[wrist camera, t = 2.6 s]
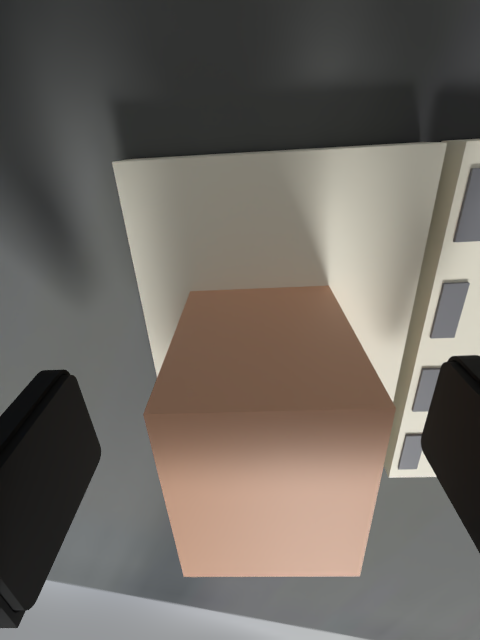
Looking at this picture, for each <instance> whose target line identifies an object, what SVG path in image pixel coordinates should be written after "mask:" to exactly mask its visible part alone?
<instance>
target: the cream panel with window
mask: <svg viewBox="0 0 480 640" xmlns="http://www.w3.org/2000/svg"><path fill="white" fill-rule="evenodd" d="M441 142H447V146H446V151H445V156H444V161H443V165H442V170H441V175H440V180H439V185H438V189H437V194H436V199H435V204H434V209H433V213H432V218H431V223H430V228H429V233H428V237H427V242H426V247H425V252H424V257H423V261H422V266H421V271H420V276H419V281H418V285H417V290H416V295H415V300H414V305H413V309H412V314H411V319H410V324H409V329H408V333H407V338H406V343H405V348H404V353H403V357H402V362H401V367H400V372H399V377H398V381H397V386H396V391H395V396H394V401H393V404H394V405H395V407H396V411H395V415H394V420H393V425H392V429H391V434H390V439H389V443H388V448H387V452H386V457H385V462H384V467H385V470H386V472H387V475H388V477H389V478H392V477H437V476H436V475H435V473H434V471H433V469H432V467H431V466H430V464H429V462H428V460H427V459H426V457H425V455H424V453H423V451H422V448H421V436H422V432H423V429H424V425H425V422H426V418H427V415H428V411H429V407H430V404H431V400H432V397H433V393H434V390H435V386H436V382H437V379H438V375H439V372H440V368H441V365H442V364H443V363H444V362H447V361H448V359H449V358H450V357H452V356H464V355H478V356H480V139H465V140H447V141H441Z"/></svg>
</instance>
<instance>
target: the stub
mask: <svg viewBox="0 0 480 640" xmlns="http://www.w3.org/2000/svg"><path fill="white" fill-rule="evenodd" d="M446 146H447V142H415V143H398V144H381V145H364V146H347V147H330V148H313V149H295V150H278V151H261V152H244V153H227V154H210V155H193V156H175V157H158V158H141V159H126V160H120V161H115V162H112V164H113V169H114V174H115V179H116V184H117V188H118V193H119V198H120V203H121V207H122V212H123V217H124V222H125V226H126V231H127V236H128V241H129V245H130V250H131V255H132V260H133V265H134V269H135V274H136V279H137V284H138V288H139V293H140V298H141V303H142V307H143V312H144V317H145V322H146V327H147V331H148V336H149V341H150V346H151V350H152V355H153V360H154V365H155V369H156V374H157V380H156V382H155V385H154V388H153V390H152V393H151V396H150V398H149V401H148V403H147V406H146V409H145V411H144V414H143V415H144V419H145V423H146V427H147V431H148V435H149V439H150V443H151V447H152V451H153V455H154V459H155V463H156V467H157V471H158V475H159V479H160V483H161V487H162V491H163V495H164V499H165V503H166V507H167V511H168V515H169V519H170V523H171V527H172V531H173V535H174V539H175V543H176V547H177V551H178V555H179V559H180V563H181V567H182V571H183V575H184V577H314V576H360V573H361V568H362V564H363V559H364V554H365V550H366V545H367V540H368V536H369V531H370V526H371V522H372V517H373V513H374V508H375V503H376V499H377V494H378V489H379V485H380V480H381V476H382V471H383V466H384V462H385V457H386V452H387V448H388V443H389V439H390V434H391V429H392V425H393V420H394V415H395V411H396V407H395V405H394V404H393V401H394V396H395V391H396V386H397V381H398V377H399V372H400V367H401V362H402V357H403V353H404V348H405V343H406V338H407V333H408V329H409V324H410V319H411V314H412V309H413V305H414V300H415V295H416V290H417V285H418V281H419V276H420V271H421V266H422V261H423V257H424V252H425V247H426V242H427V237H428V233H429V228H430V223H431V218H432V213H433V209H434V204H435V199H436V194H437V189H438V185H439V180H440V175H441V170H442V165H443V161H444V156H445V151H446Z"/></svg>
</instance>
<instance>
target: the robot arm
mask: <svg viewBox="0 0 480 640" xmlns="http://www.w3.org/2000/svg"><path fill="white" fill-rule="evenodd" d="M421 448H422V451H423V453H424V455H425V457H426V459H427V460H428V462H429V464H430V466H431V467H432V469H433V471H434V473H435V475H436V476H437V478H438V480H439V482H440V483H441V485H442V487H443V489H444V491H445V492H446V494H447V496H448V498H449V499H450V501H451V503H452V505H453V506H454V508H455V510H456V512H457V514H458V515H459V517H460V519H461V521H462V522H463V524H464V526H465V528H466V530H467V531H468V533H469V535H470V537H471V538H472V540H473V542H474V544H475V545H476V547H477V549H478V551H479V553H480V356H478V355H464V356H452V357H450V358H449V359H448V361H447V362H444V363H443V364H442V365H441V368H440V372H439V375H438V379H437V382H436V386H435V390H434V393H433V397H432V400H431V404H430V407H429V411H428V415H427V418H426V422H425V425H424V429H423V432H422V436H421ZM100 456H101V447H100V444H99V441H98V438H97V436H96V433H95V430H94V427H93V424H92V421H91V419H90V416H89V413H88V410H87V407H86V405H85V402H84V399H83V396H82V393H81V390H80V388H79V385H78V382H77V379H76V377H75V376H73V375H70V373H69V372H68V371H67V370H44V371H41V372H39V373H38V374H37V375H36V376H35V377H34V379H33V380H32V381H31V382H30V383H29V384H28V385H27V387H26V388H25V389H24V390H23V391H22V392H21V393H20V395H19V396H18V397H17V398H16V399H15V400H14V401H13V403H12V404H11V405H10V406H9V407H8V408H7V409H6V411H5V412H4V413H3V414H2V415H1V416H0V628H18V626H19V624H20V622H21V619H22V617H23V615H24V613H25V611H26V610H29V609H30V608H31V607H32V606H33V605H34V604H35V602H36V600H37V598H38V596H39V594H40V592H41V590H42V587H43V585H44V583H45V581H46V578H47V576H48V574H49V572H50V570H51V567H52V565H53V563H54V561H55V558H56V556H57V554H58V552H59V550H60V547H61V545H62V543H63V541H64V538H65V536H66V534H67V532H68V530H69V527H70V525H71V523H72V521H73V518H74V516H75V514H76V512H77V510H78V507H79V505H80V503H81V501H82V498H83V496H84V494H85V492H86V490H87V487H88V485H89V483H90V481H91V478H92V476H93V474H94V472H95V470H96V467H97V465H98V463H99V460H100Z"/></svg>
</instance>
